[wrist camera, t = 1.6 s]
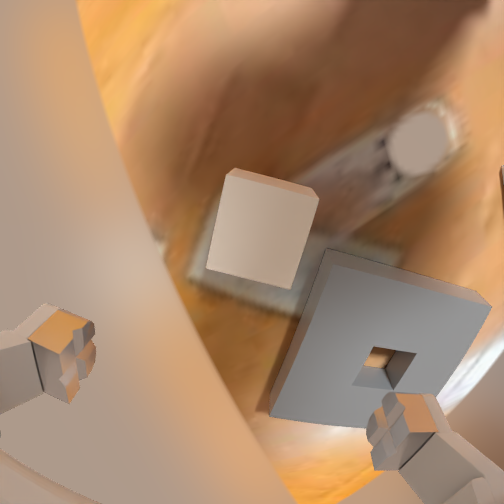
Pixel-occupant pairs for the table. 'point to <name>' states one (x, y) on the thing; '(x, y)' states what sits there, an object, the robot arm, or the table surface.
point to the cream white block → (261, 228)
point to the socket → (372, 340)
